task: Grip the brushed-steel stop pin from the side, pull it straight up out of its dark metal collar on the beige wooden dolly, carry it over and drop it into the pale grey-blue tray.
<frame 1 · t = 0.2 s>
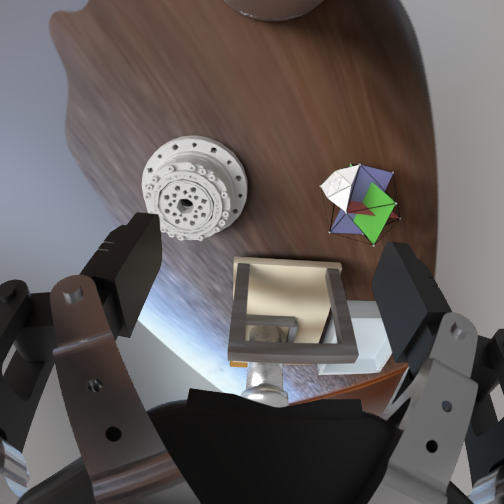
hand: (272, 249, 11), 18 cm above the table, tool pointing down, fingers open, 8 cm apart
stop pin: (265, 333, 37), point 2 cm above the table, touching dolly
geometric puzzle: (353, 185, 28), on the table
tray: (359, 332, 41), on the table
dolly: (279, 308, 38), on the table
mechanical component: (196, 183, 29), on the table
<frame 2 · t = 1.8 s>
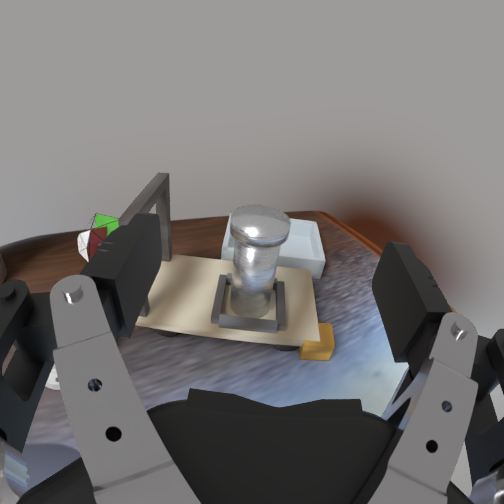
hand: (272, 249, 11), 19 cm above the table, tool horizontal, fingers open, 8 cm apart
stop pin: (249, 304, 31), point 3 cm above the table, touching dolly
geometric puzzle: (110, 262, 38), on the table
tray: (271, 251, 44), on the table
dolly: (230, 309, 34), on the table
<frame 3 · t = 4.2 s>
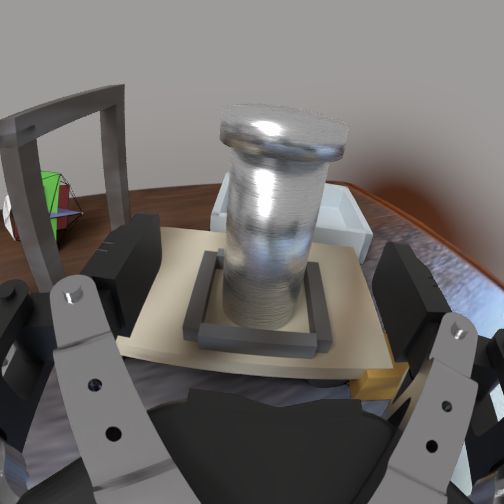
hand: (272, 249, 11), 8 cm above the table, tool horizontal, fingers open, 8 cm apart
stop pin: (258, 304, 17), point 3 cm above the table, touching dolly
geometric puzzle: (51, 242, 24), on the table
tray: (286, 226, 29), on the table
dolly: (223, 312, 19), on the table
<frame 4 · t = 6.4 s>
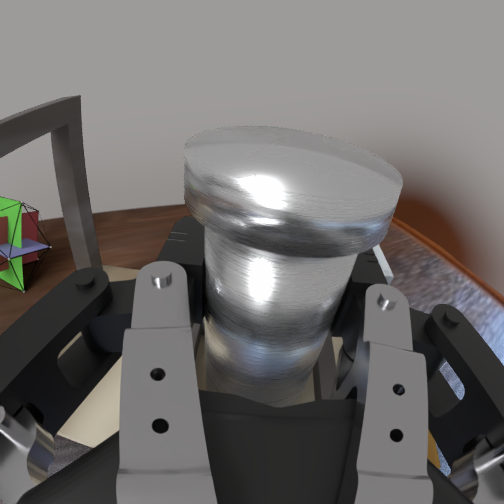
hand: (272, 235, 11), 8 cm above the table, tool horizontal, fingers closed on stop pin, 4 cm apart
stop pin: (252, 388, 12), point 3 cm above the table, touching dolly, gripper
geometric puzzle: (20, 277, 20), on the table
dolly: (212, 383, 15), on the table
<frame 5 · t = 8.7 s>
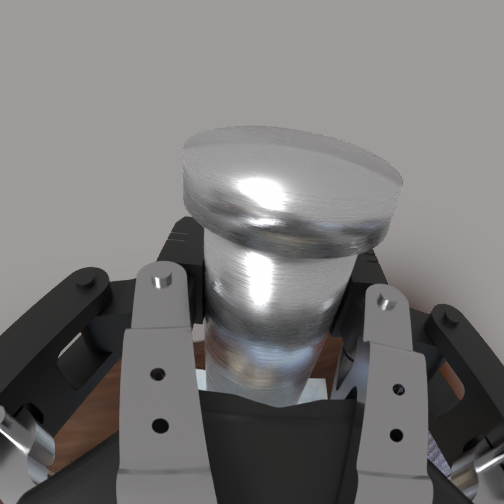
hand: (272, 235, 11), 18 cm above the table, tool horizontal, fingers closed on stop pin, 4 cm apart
stop pin: (253, 388, 12), point 12 cm above the table, touching gripper
tray: (237, 444, 20), on the table
when the fingers open (10 cm above the table, at t = 11.2 s): stop pin moves 3 cm, point 2 cm above the table.
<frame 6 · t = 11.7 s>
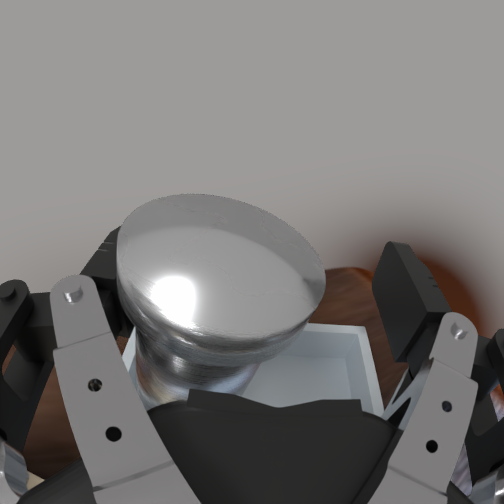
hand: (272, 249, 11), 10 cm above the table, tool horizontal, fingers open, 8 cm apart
stop pin: (180, 415, 13), point 2 cm above the table, tilted 11°, touching gripper
tray: (245, 421, 15), on the table
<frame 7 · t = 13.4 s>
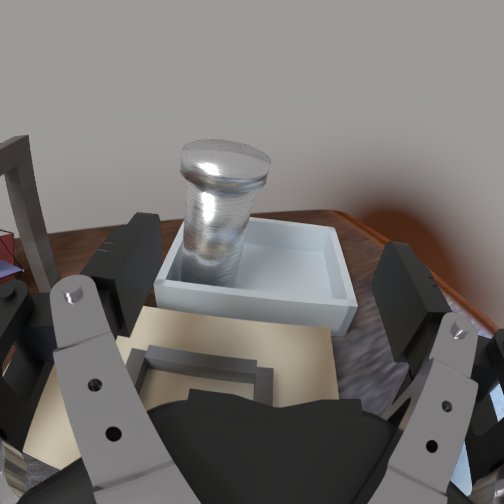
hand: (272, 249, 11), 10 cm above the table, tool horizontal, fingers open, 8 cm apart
stop pin: (207, 283, 23), point 1 cm above the table, tilted 6°, touching tray
tray: (255, 282, 25), on the table
dolly: (162, 411, 15), on the table
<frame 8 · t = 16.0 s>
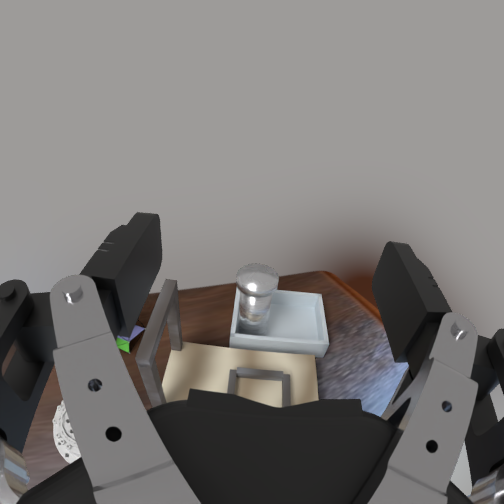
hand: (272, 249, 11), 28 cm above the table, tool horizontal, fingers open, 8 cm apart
stop pin: (252, 331, 42), point 1 cm above the table, touching tray
geometric puzzle: (121, 342, 39), on the table
tray: (277, 327, 44), on the table
dolly: (239, 396, 34), on the table
mechanical component: (95, 437, 27), on the table
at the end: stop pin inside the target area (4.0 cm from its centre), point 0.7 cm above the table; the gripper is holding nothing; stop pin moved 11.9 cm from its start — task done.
